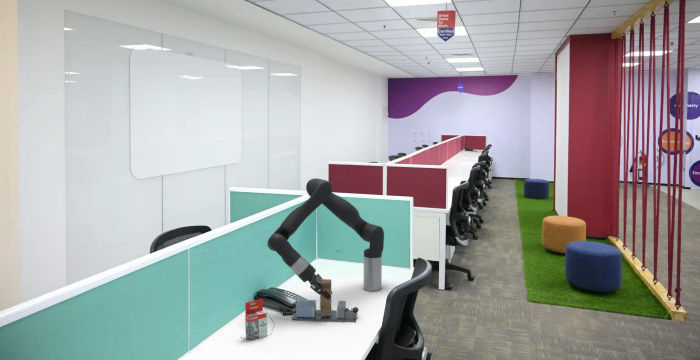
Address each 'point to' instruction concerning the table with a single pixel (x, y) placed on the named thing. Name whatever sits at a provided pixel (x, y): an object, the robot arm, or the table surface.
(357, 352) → the table surface
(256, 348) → the table surface
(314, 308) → the sliding jaw
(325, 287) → the walnut block
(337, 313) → the vise
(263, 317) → the ink box
